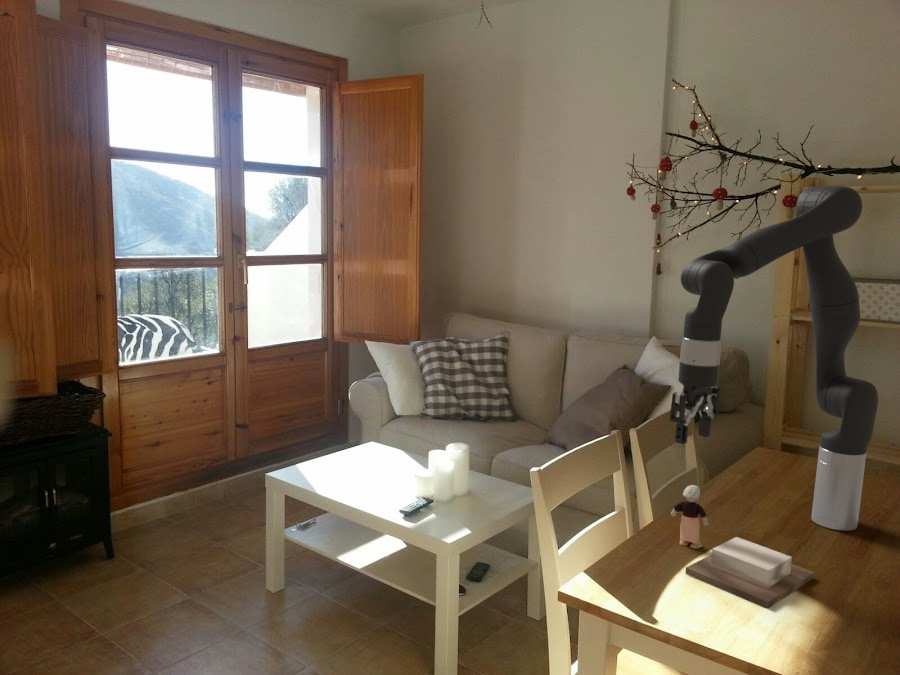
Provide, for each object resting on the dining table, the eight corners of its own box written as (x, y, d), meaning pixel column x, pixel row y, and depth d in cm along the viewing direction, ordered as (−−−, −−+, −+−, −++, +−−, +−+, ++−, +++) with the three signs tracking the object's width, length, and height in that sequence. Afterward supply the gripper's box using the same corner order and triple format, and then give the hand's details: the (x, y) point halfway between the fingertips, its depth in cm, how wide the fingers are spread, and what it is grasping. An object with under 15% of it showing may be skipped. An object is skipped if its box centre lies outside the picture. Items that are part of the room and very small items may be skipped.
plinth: (734, 548, 151) (736, 526, 150) (813, 578, 139) (816, 555, 138) (685, 573, 139) (687, 550, 139) (767, 608, 127) (770, 583, 127)
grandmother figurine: (708, 544, 153) (713, 485, 151) (705, 551, 149) (711, 491, 147) (669, 536, 156) (674, 479, 154) (666, 543, 152) (671, 484, 150)
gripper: (697, 367, 140) (689, 450, 142) (735, 360, 149) (728, 438, 151) (662, 361, 145) (656, 440, 148) (701, 354, 154) (695, 429, 157)
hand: (692, 439), depth 150 cm, fingers open, 8 cm apart
